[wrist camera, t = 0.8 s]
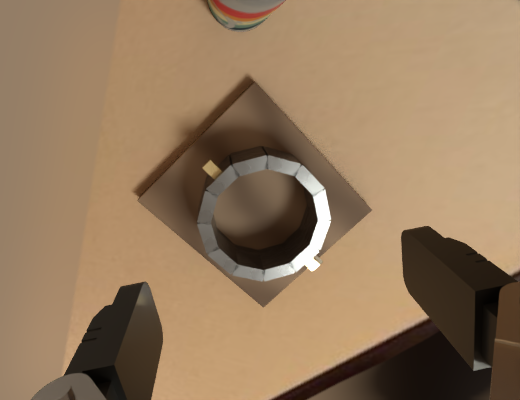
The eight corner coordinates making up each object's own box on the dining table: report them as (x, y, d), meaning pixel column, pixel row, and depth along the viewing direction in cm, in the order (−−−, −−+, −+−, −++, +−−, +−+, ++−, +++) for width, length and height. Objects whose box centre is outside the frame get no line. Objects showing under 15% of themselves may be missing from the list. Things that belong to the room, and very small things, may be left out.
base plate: (253, 81, 37) (255, 82, 36) (371, 209, 43) (376, 214, 41) (139, 197, 39) (136, 201, 38) (265, 304, 45) (267, 311, 43)
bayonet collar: (251, 110, 37) (256, 115, 32) (348, 213, 41) (364, 229, 37) (164, 197, 38) (158, 213, 34) (266, 286, 43) (273, 310, 38)
